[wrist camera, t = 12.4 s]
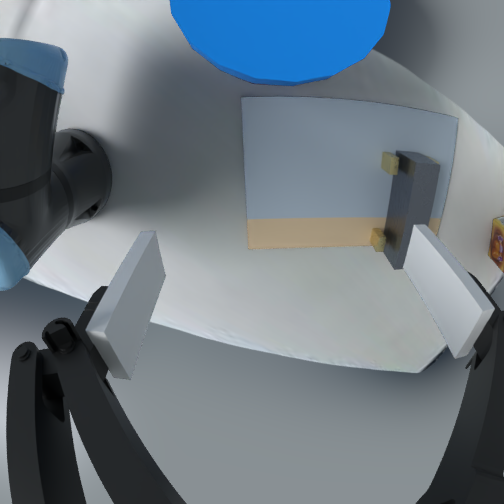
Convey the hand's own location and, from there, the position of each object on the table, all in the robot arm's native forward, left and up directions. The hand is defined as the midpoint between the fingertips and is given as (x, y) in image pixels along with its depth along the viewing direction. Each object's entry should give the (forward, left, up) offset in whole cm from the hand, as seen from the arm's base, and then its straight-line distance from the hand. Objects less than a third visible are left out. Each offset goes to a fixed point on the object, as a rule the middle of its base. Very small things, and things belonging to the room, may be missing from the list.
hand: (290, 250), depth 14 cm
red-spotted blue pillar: (0, +13, -27) cm, 30 cm away
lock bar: (+20, -8, -26) cm, 34 cm away
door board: (+13, -5, -27) cm, 30 cm away
